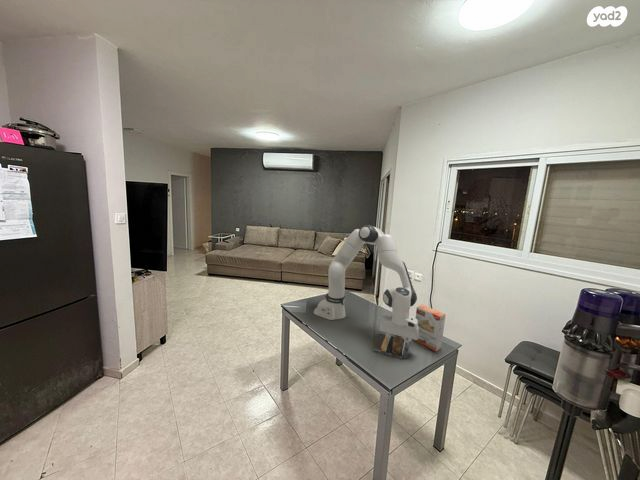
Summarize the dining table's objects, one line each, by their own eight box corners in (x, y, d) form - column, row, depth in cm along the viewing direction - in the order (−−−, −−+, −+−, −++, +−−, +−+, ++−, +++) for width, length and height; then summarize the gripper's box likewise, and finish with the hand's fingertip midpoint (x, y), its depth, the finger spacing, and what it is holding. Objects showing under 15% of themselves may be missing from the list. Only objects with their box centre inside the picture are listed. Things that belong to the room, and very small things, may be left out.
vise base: (373, 351, 131) (373, 345, 131) (380, 333, 148) (380, 328, 148) (406, 360, 125) (406, 354, 124) (409, 341, 142) (410, 336, 141)
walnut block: (392, 352, 131) (393, 341, 130) (394, 344, 138) (395, 334, 137) (399, 354, 129) (401, 343, 128) (401, 346, 136) (402, 336, 135)
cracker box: (412, 339, 143) (416, 306, 139) (418, 336, 147) (422, 304, 143) (435, 352, 132) (440, 316, 128) (441, 348, 135) (446, 313, 132)
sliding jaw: (381, 351, 131) (381, 346, 131) (386, 336, 145) (386, 331, 145) (386, 352, 130) (386, 347, 130) (390, 337, 144) (391, 332, 144)
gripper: (379, 316, 132) (377, 340, 134) (420, 325, 123) (417, 350, 126) (381, 311, 137) (379, 334, 140) (420, 320, 129) (418, 344, 132)
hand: (397, 342), depth 133 cm, fingers open, 8 cm apart
